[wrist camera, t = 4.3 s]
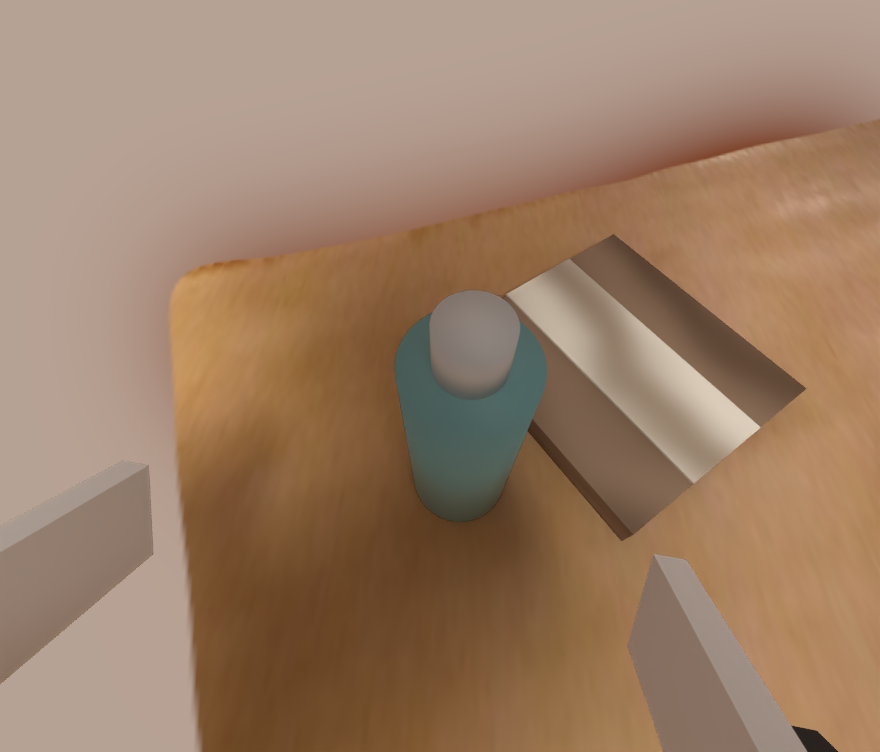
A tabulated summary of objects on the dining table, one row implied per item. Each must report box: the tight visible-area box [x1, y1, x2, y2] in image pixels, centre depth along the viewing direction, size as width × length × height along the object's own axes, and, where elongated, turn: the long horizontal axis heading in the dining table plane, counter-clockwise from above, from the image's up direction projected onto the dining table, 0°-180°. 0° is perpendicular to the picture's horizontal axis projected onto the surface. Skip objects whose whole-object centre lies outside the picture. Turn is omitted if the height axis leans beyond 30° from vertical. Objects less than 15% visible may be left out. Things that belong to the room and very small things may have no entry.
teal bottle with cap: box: [395, 290, 547, 522], centre depth 18 cm, size 5×5×13 cm
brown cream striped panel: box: [502, 234, 806, 541], centre depth 26 cm, size 13×14×2 cm
